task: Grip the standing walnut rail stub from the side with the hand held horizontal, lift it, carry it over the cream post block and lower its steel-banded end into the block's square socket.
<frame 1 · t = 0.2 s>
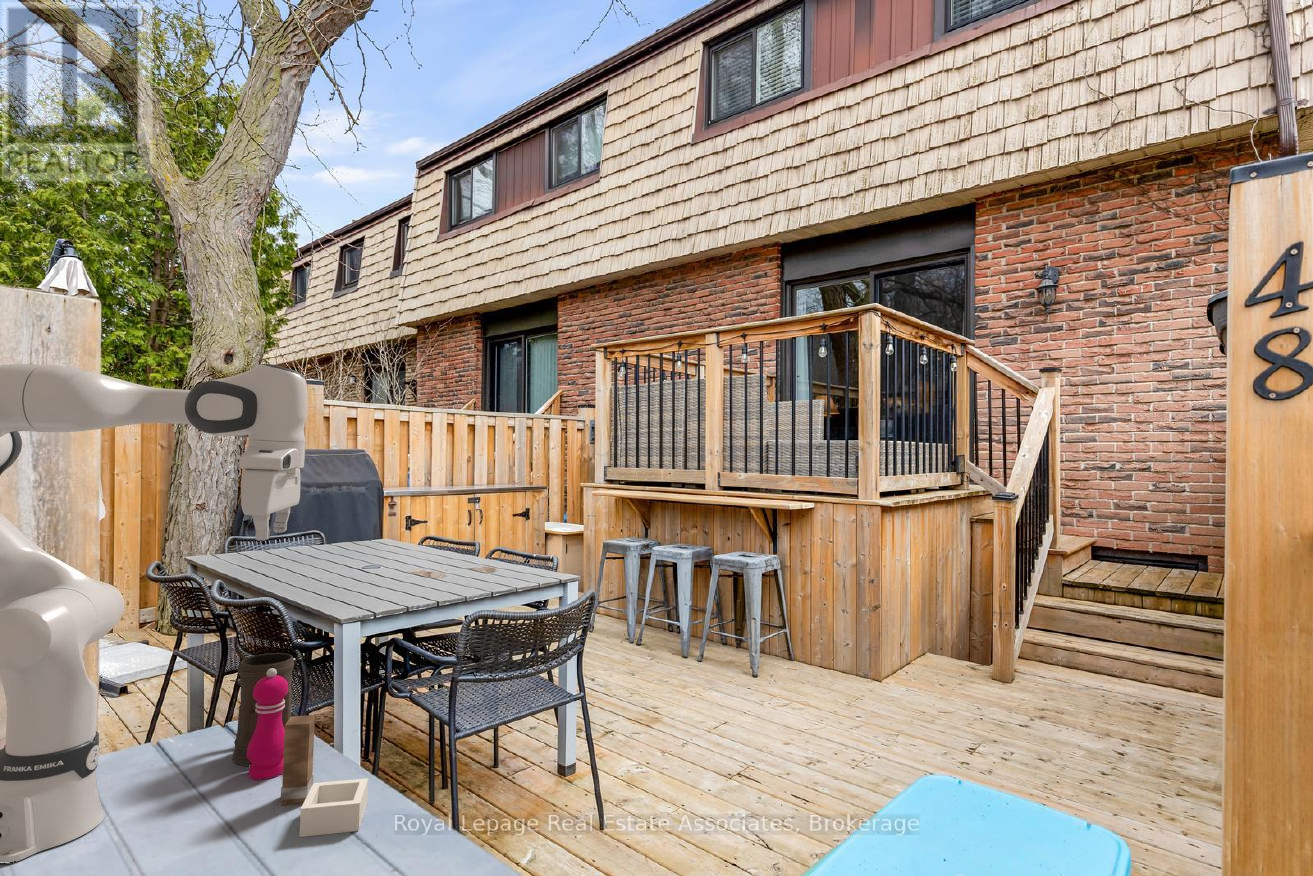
hand: (271, 535, 119), 47 cm above the table, tool pointing down, fingers open, 8 cm apart
socket block: (335, 819, 115), on the table
pepper mill: (267, 773, 131), on the table
rail: (296, 798, 122), on the table
beer stein: (259, 752, 141), on the table
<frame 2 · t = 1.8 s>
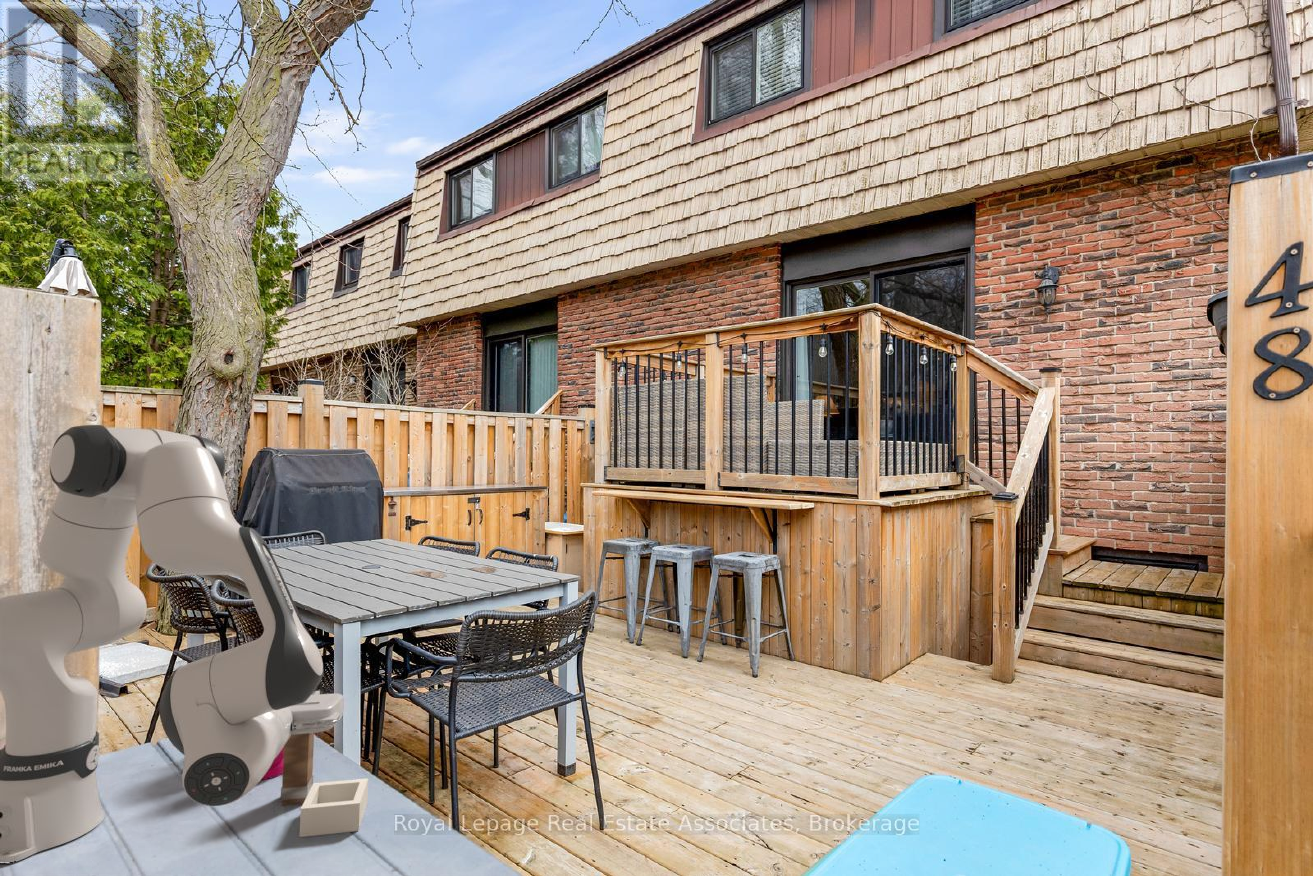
hand: (283, 697, 111), 22 cm above the table, tool horizontal, fingers open, 8 cm apart
nothing on the table moved.
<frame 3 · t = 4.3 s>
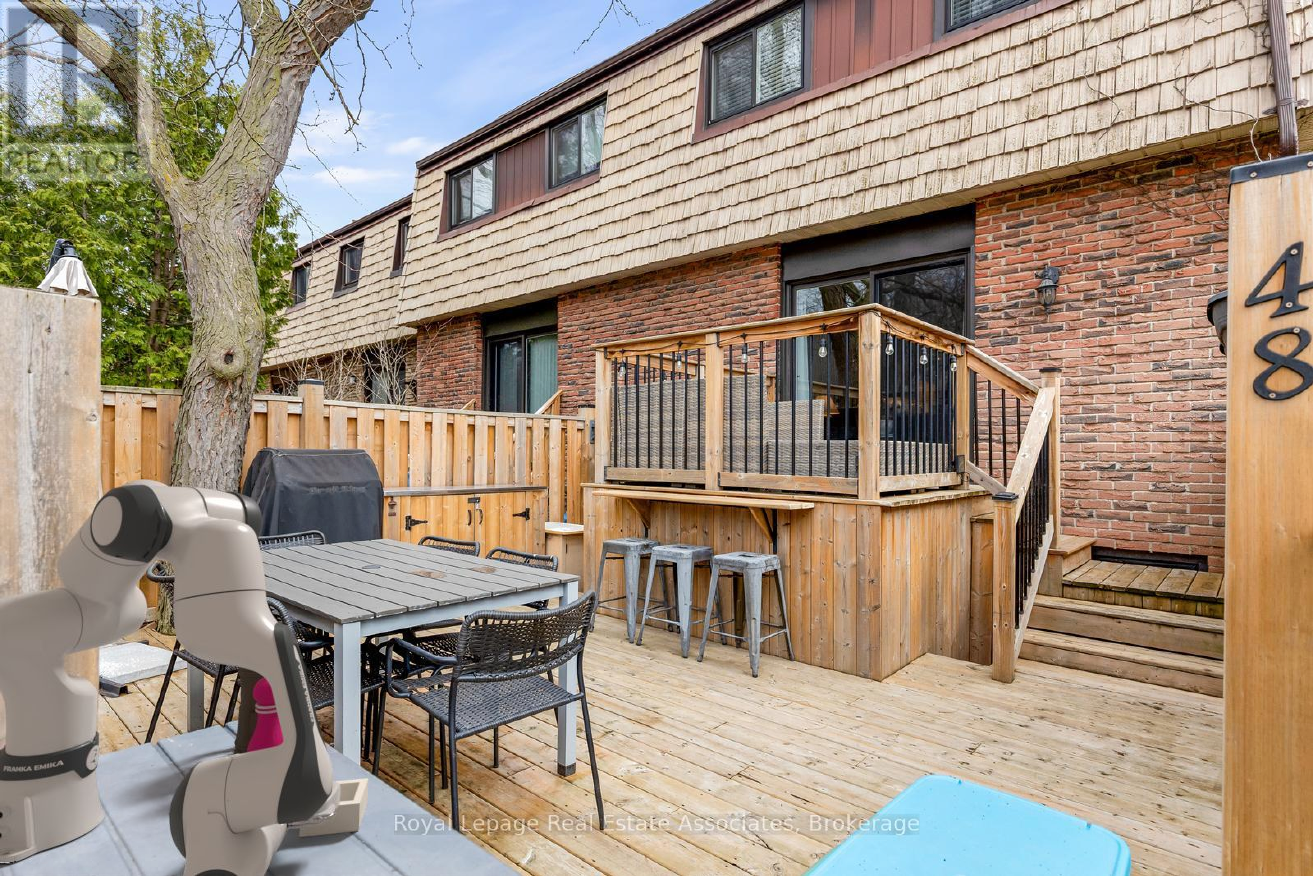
hand: (280, 783, 111), 8 cm above the table, tool horizontal, fingers open, 8 cm apart
nothing on the table moved.
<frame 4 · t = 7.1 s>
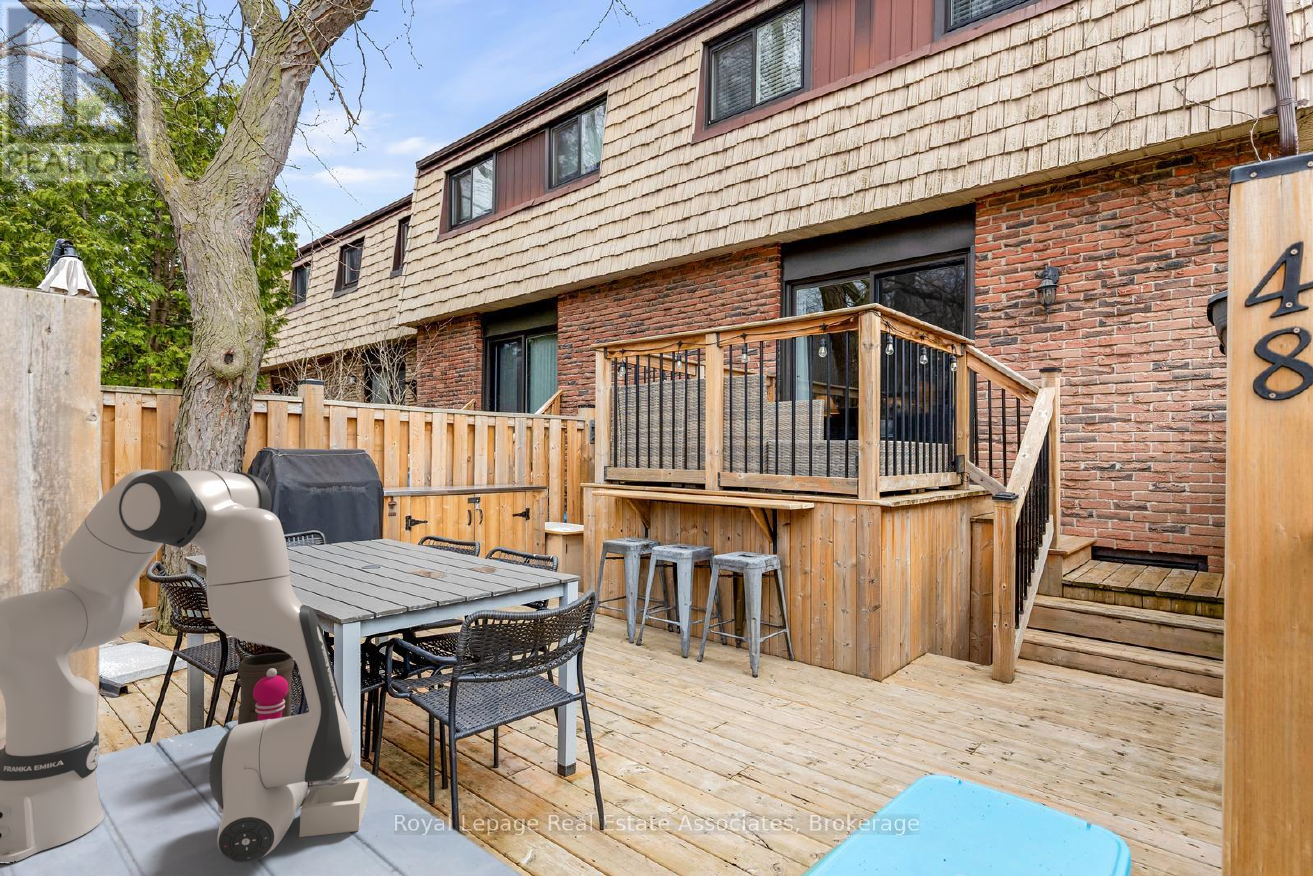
hand: (299, 751, 123), 8 cm above the table, tool horizontal, fingers closed on rail, 4 cm apart
rail: (296, 798, 122), on the table, touching gripper
everything else where it was.
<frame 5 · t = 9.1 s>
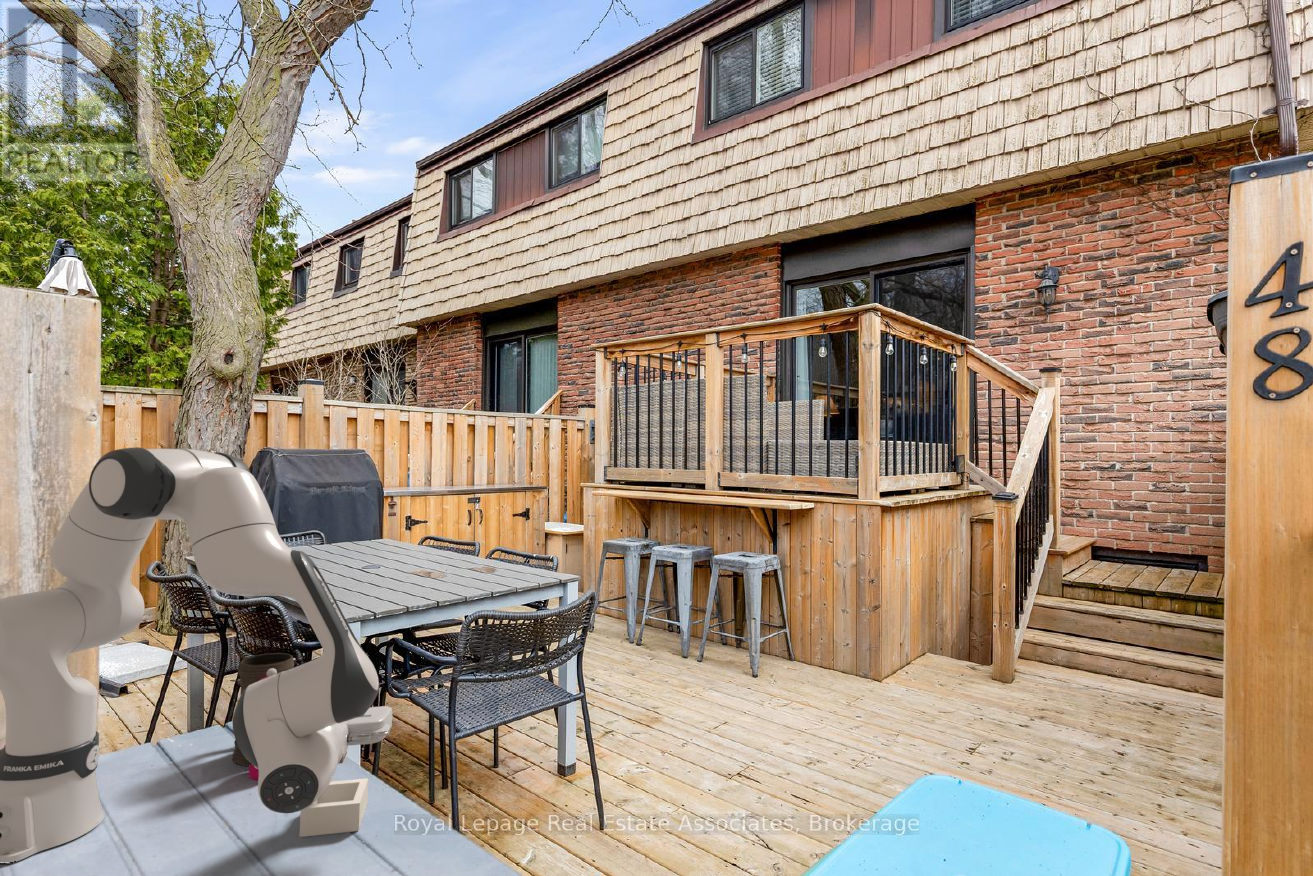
hand: (334, 710, 118), 17 cm above the table, tool horizontal, fingers closed on rail, 4 cm apart
rail: (332, 759, 117), point 9 cm above the table, touching gripper
everything else where it was.
when the fingers open (9 cm above the table, at t = 11.5 s): rail drops 1 cm, resting in socket block.
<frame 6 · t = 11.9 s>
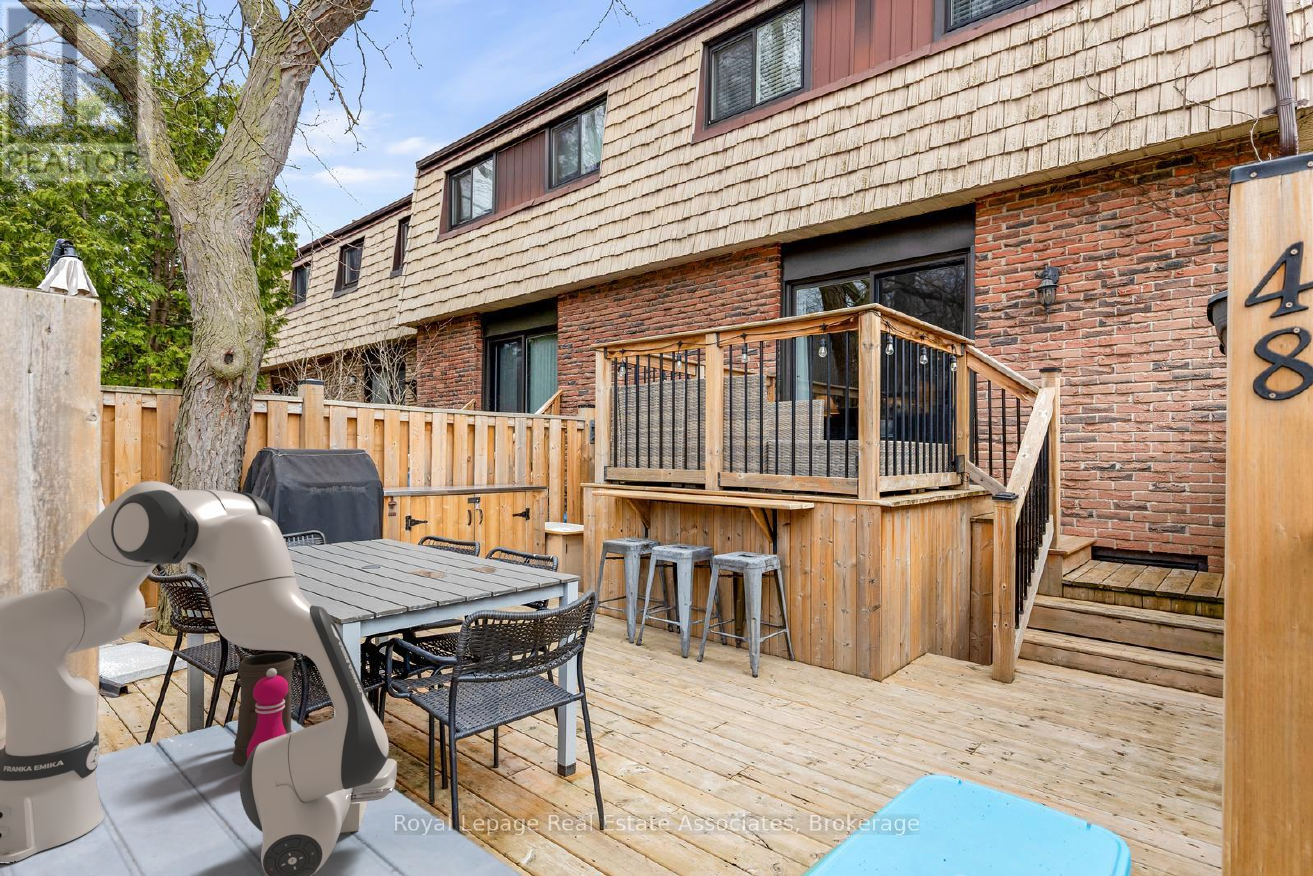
hand: (338, 761, 116), 9 cm above the table, tool horizontal, fingers open, 8 cm apart
rail: (334, 819, 115), resting in socket block
everything else where it was.
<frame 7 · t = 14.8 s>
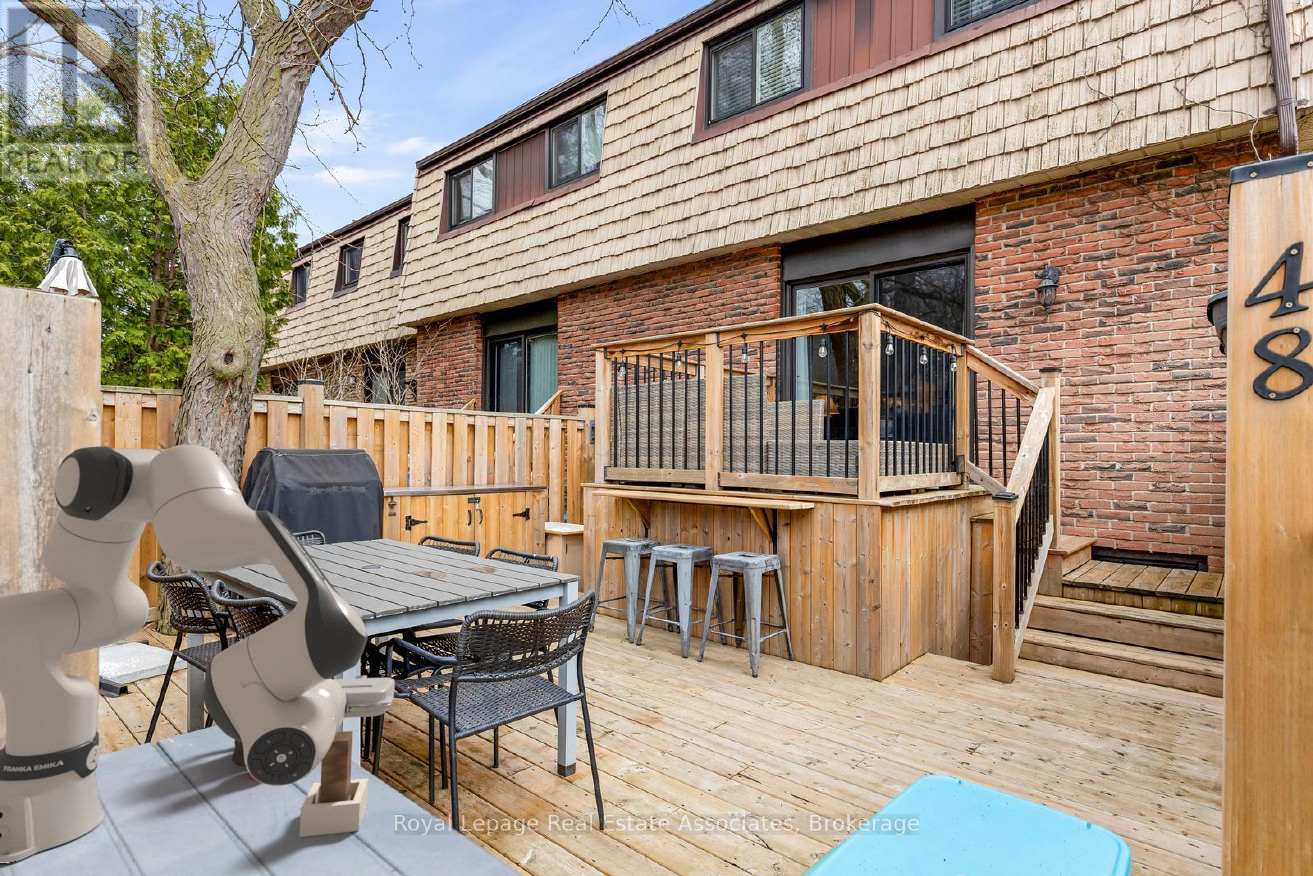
hand: (329, 681, 106), 27 cm above the table, tool horizontal, fingers open, 8 cm apart
nothing on the table moved.
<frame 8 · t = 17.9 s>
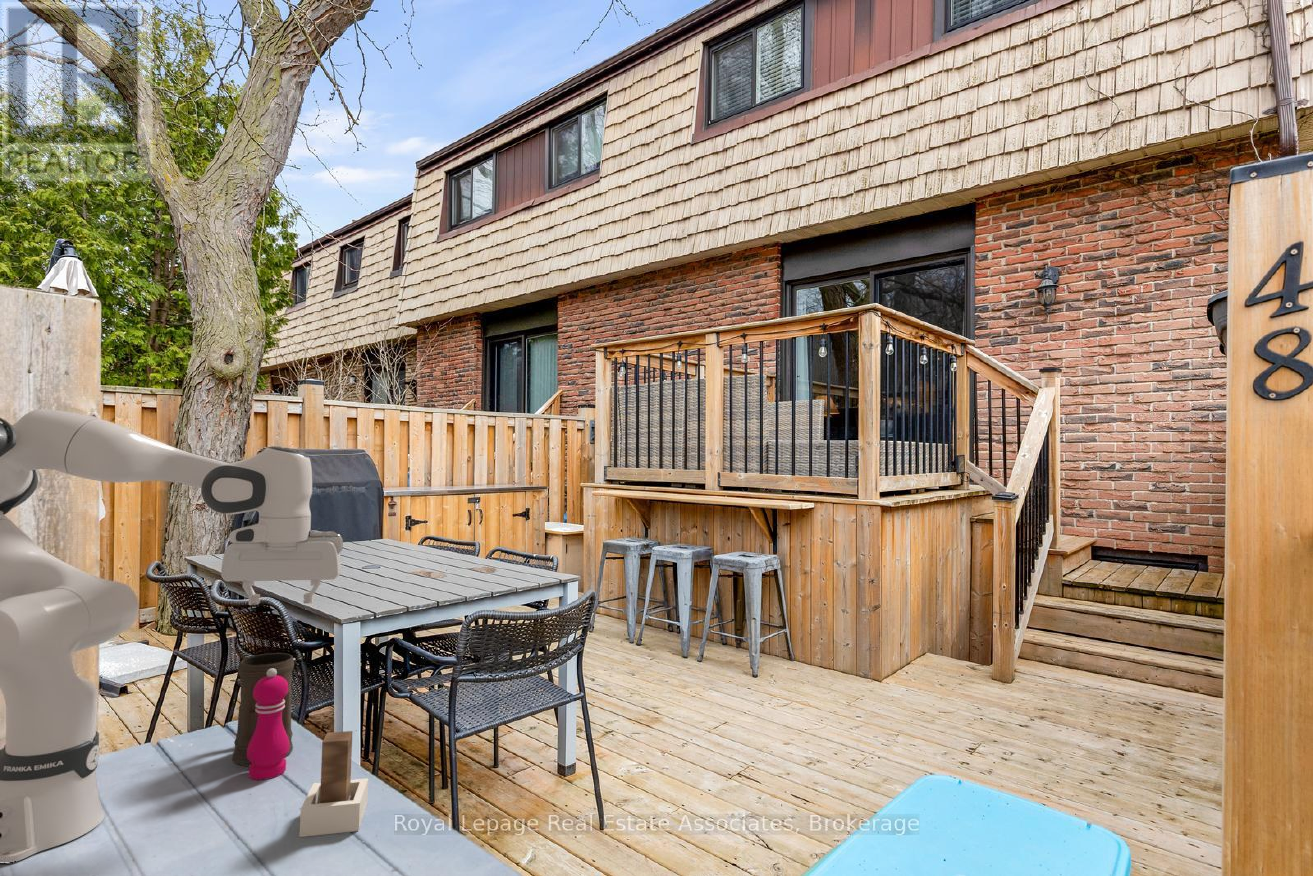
hand: (281, 603, 130), 33 cm above the table, tool pointing down, fingers open, 8 cm apart
nothing on the table moved.
at the end: rail 0.1 cm off-centre on the socket block, point 0.0 cm above the socket block's base; rail tilted 0°; the gripper is holding nothing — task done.
